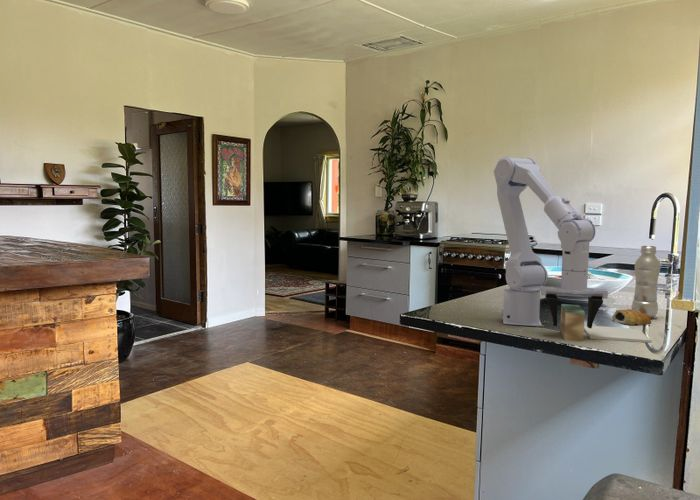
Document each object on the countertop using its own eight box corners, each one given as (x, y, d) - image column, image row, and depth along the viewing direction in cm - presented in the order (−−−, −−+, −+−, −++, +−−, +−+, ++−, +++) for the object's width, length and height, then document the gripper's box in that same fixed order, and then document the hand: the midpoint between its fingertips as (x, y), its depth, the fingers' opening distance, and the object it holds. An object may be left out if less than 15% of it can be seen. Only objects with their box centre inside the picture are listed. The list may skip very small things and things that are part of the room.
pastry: (639, 319, 143) (640, 306, 143) (658, 325, 137) (659, 311, 136) (609, 321, 141) (610, 307, 141) (627, 327, 135) (628, 312, 134)
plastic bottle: (653, 315, 148) (658, 245, 146) (660, 320, 141) (665, 247, 139) (628, 313, 149) (632, 245, 147) (634, 319, 143) (639, 247, 141)
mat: (590, 338, 122) (590, 335, 122) (582, 327, 133) (582, 325, 133) (651, 342, 119) (651, 340, 119) (638, 331, 129) (638, 328, 129)
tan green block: (564, 340, 121) (566, 310, 120) (560, 331, 129) (561, 304, 128) (583, 341, 120) (584, 311, 119) (577, 333, 128) (578, 305, 127)
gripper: (543, 271, 121) (541, 328, 122) (612, 273, 117) (608, 332, 118) (541, 267, 127) (538, 321, 129) (605, 269, 124) (602, 325, 125)
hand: (571, 326), depth 124 cm, fingers open, 7 cm apart
